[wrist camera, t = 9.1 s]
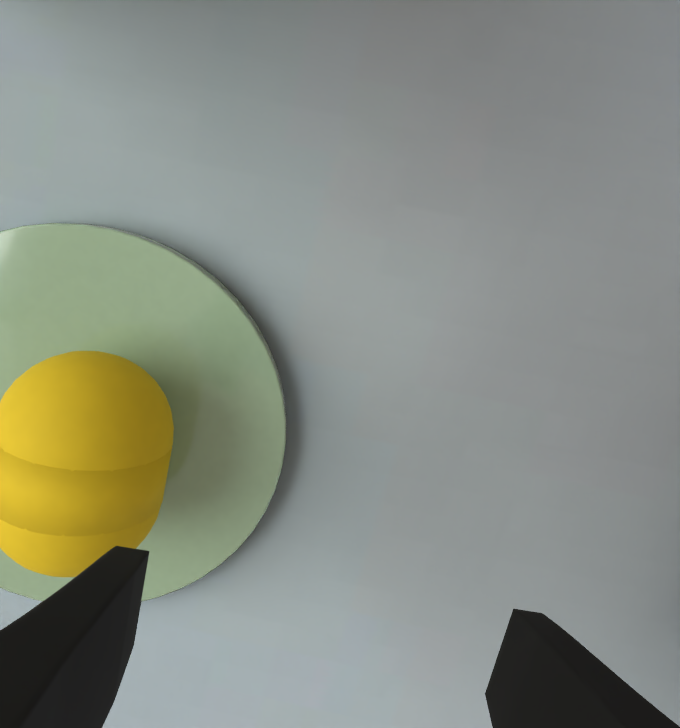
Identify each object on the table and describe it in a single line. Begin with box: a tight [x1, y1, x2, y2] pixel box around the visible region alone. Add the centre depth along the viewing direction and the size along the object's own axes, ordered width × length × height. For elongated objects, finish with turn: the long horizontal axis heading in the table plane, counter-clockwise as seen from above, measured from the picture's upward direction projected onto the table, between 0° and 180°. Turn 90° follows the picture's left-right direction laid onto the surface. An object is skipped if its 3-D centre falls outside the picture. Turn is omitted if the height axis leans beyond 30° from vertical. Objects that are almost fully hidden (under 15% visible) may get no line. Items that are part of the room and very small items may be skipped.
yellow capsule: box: [0, 351, 174, 577], centre depth 16 cm, size 6×5×5 cm
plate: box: [0, 223, 286, 601], centre depth 18 cm, size 13×13×1 cm
